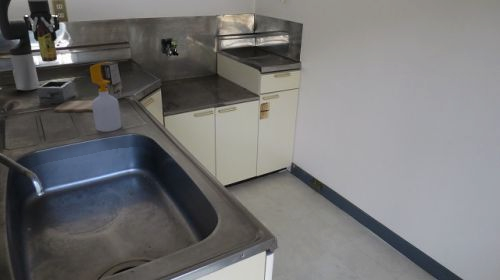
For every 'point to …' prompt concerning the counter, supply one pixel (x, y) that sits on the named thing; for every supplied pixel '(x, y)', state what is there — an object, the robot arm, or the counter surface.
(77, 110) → the walnut board
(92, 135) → the counter surface
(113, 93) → the coffee box
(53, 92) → the grey open box
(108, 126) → the spray bottle
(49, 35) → the sauce bottle
